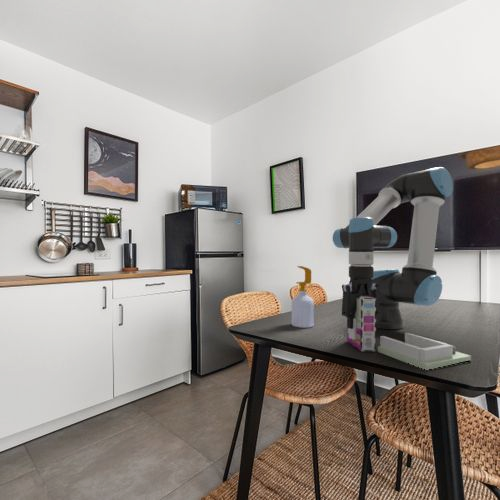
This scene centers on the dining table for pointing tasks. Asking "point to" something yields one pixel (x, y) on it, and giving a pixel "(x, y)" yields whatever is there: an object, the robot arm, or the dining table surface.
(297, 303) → the soap bottle
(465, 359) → the white open tray
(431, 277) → the robot arm
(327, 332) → the dining table surface
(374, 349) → the candy bar box
